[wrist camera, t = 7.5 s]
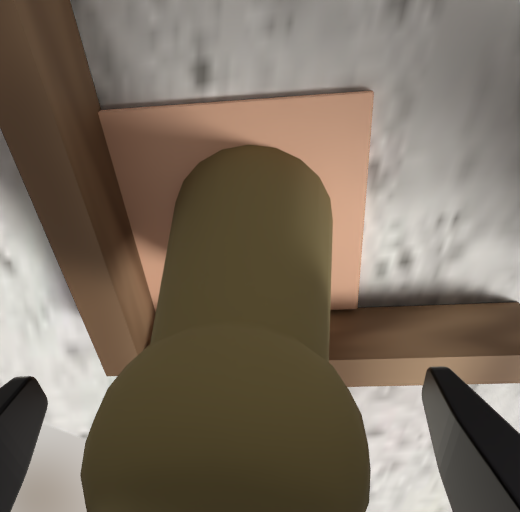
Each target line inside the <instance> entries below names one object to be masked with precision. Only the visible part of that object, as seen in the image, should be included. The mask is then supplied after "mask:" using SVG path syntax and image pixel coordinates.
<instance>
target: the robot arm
mask: <svg viewBox="0 0 520 512" xmlns="http://www.w3.org/2000/svg"><path fill="white" fill-rule="evenodd" d="M422 401H423V405H424V410H425V414H426V418H427V423H428V427H429V431H430V436H431V440H432V444H433V449H434V453H435V457H436V461H437V465H438V469H439V473H440V476H441V479H442V482H443V485H444V488H445V491H446V493H447V496H448V499H449V502H450V505H451V508H452V511H453V512H520V433H518V432H517V431H516V430H515V429H514V428H513V427H512V426H511V425H510V424H509V423H508V422H507V421H506V420H505V419H504V418H502V417H501V416H500V415H499V414H498V413H497V412H496V411H495V410H494V409H493V408H492V407H491V406H490V405H489V404H487V403H486V402H485V401H484V400H483V399H482V398H481V397H480V396H479V395H478V394H477V393H476V392H475V391H474V390H472V389H471V388H470V387H469V386H468V385H467V384H466V383H465V382H464V381H463V380H462V379H461V378H460V377H459V376H458V375H456V374H455V373H454V372H453V371H452V370H451V369H450V368H448V367H445V366H439V367H429V368H428V369H427V371H426V375H425V379H424V384H423V388H422ZM47 405H48V401H47V397H46V395H45V393H44V392H43V390H42V388H41V387H40V385H39V383H38V381H37V380H36V379H35V378H34V377H31V376H26V377H15V378H13V379H12V380H10V381H9V382H8V383H6V384H5V385H4V386H2V387H1V388H0V512H11V509H12V507H13V504H14V502H15V500H16V497H17V495H18V493H19V490H20V488H21V486H22V483H23V481H24V478H25V475H26V473H27V470H28V467H29V464H30V461H31V458H32V455H33V452H34V448H35V445H36V442H37V439H38V436H39V433H40V429H41V426H42V423H43V420H44V417H45V413H46V410H47Z"/></svg>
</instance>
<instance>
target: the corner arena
mask: <svg viewBox="0 0 520 512" xmlns="http://www.w3.org/2000/svg"><path fill="white" fill-rule="evenodd" d="M373 97H374V92H373V91H360V92H346V93H332V94H318V95H304V96H290V97H276V98H263V99H249V100H235V101H221V102H207V103H193V104H179V105H165V106H151V107H137V108H123V109H109V110H101V108H100V105H99V101H98V98H97V94H96V91H95V87H94V84H93V80H92V77H91V73H90V69H89V66H88V62H87V59H86V55H85V52H84V48H83V45H82V41H81V38H80V34H79V31H78V27H77V24H76V20H75V17H74V13H73V10H72V6H71V3H70V0H0V128H1V131H2V133H3V135H4V138H5V140H6V142H7V145H8V147H9V149H10V152H11V154H12V156H13V159H14V161H15V163H16V166H17V168H18V170H19V173H20V175H21V177H22V180H23V182H24V184H25V187H26V189H27V191H28V194H29V196H30V198H31V201H32V203H33V205H34V208H35V210H36V212H37V215H38V217H39V219H40V222H41V224H42V226H43V229H44V231H45V233H46V236H47V238H48V240H49V243H50V245H51V247H52V250H53V252H54V254H55V257H56V259H57V261H58V264H59V266H60V268H61V271H62V273H63V275H64V278H65V280H66V282H67V285H68V287H69V289H70V292H71V294H72V296H73V299H74V301H75V303H76V306H77V308H78V310H79V313H80V315H81V317H82V320H83V322H84V324H85V327H86V329H87V331H88V334H89V336H90V338H91V341H92V343H93V345H94V348H95V350H96V352H97V355H98V357H99V359H100V362H101V364H102V366H103V369H104V371H105V373H106V376H118V375H119V374H120V373H121V372H122V370H123V369H124V368H125V367H126V366H127V365H128V364H129V363H130V362H131V361H132V360H133V359H134V358H135V357H136V356H138V355H139V354H140V353H141V352H142V351H143V350H144V349H145V348H146V347H147V346H149V345H150V342H151V336H152V331H153V325H154V320H155V314H156V308H157V303H158V297H159V292H160V286H161V280H162V275H163V269H164V264H165V258H166V252H167V247H168V241H169V236H170V230H171V224H172V219H173V213H174V208H175V202H176V199H177V197H178V194H179V191H180V189H181V186H182V183H183V181H184V179H185V178H186V177H187V176H188V175H189V174H190V172H191V171H192V170H193V169H194V168H195V167H196V166H197V164H198V163H199V162H201V161H203V160H204V159H206V158H208V157H210V156H211V155H213V154H215V153H217V152H219V151H220V150H222V149H227V148H233V147H238V146H243V145H248V144H249V145H257V146H265V147H273V148H278V149H280V150H282V151H284V152H286V153H288V154H291V155H293V156H295V157H297V158H299V159H301V160H302V161H303V162H304V163H305V164H306V165H307V166H308V167H309V168H311V169H312V170H313V171H314V172H315V173H316V174H317V175H318V176H319V177H320V179H321V181H322V183H323V185H324V187H325V189H326V191H327V193H328V195H329V197H330V200H331V209H332V217H333V234H332V269H331V304H330V339H329V363H330V364H331V365H333V367H334V368H335V370H336V371H337V373H338V374H339V376H340V377H341V379H342V380H343V382H344V383H345V385H346V386H347V387H361V386H407V385H423V384H424V379H425V375H426V371H427V369H428V368H429V367H439V366H445V367H448V368H450V369H451V370H452V371H453V372H454V373H455V374H456V375H458V376H459V377H460V378H461V379H462V380H463V381H464V382H465V383H466V384H499V383H520V304H519V302H511V303H482V304H454V305H425V306H397V307H368V308H357V305H358V292H359V279H360V266H361V253H362V240H363V227H364V214H365V201H366V188H367V175H368V162H369V149H370V136H371V123H372V110H373Z"/></svg>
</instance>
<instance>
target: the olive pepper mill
mask: <svg viewBox="0 0 520 512" xmlns="http://www.w3.org/2000/svg"><path fill="white" fill-rule="evenodd" d="M332 234H333V217H332V209H331V200H330V197H329V195H328V193H327V191H326V189H325V187H324V185H323V183H322V181H321V179H320V177H319V176H318V175H317V174H316V173H315V172H314V171H313V170H312V169H311V168H309V167H308V166H307V165H306V164H305V163H304V162H303V161H302V160H301V159H299V158H297V157H295V156H293V155H291V154H288V153H286V152H284V151H282V150H280V149H278V148H273V147H265V146H257V145H249V144H248V145H243V146H238V147H233V148H227V149H222V150H220V151H219V152H217V153H215V154H213V155H211V156H210V157H208V158H206V159H204V160H203V161H201V162H199V163H198V164H197V166H196V167H195V168H194V169H193V170H192V171H191V172H190V174H189V175H188V176H187V177H186V178H185V179H184V181H183V183H182V186H181V189H180V191H179V194H178V197H177V199H176V202H175V208H174V213H173V219H172V224H171V230H170V236H169V241H168V247H167V252H166V258H165V264H164V269H163V275H162V280H161V286H160V292H159V297H158V303H157V308H156V314H155V320H154V325H153V331H152V336H151V342H150V345H149V346H147V347H146V348H145V349H144V350H143V351H142V352H141V353H140V354H139V355H138V356H136V357H135V358H134V359H133V360H132V361H131V362H130V363H129V364H128V365H127V366H126V367H125V368H124V369H123V370H122V372H121V373H120V374H119V375H118V377H117V378H116V379H115V380H114V382H113V383H112V384H111V385H110V387H109V388H108V389H107V392H106V394H105V396H104V398H103V401H102V403H101V405H100V407H99V410H98V412H97V414H96V416H95V419H94V421H93V424H92V427H91V429H90V432H89V435H88V437H87V440H86V443H85V449H84V456H83V462H82V469H81V481H82V487H83V492H84V498H85V504H86V509H87V512H365V511H366V509H367V506H368V504H369V491H370V471H371V470H370V460H369V449H368V442H367V438H366V433H365V429H364V424H363V420H362V415H361V413H360V411H359V409H358V407H357V405H356V403H355V401H354V399H353V397H352V395H351V393H350V391H349V389H348V388H347V386H346V385H345V383H344V382H343V380H342V379H341V377H340V376H339V374H338V373H337V371H336V370H335V368H334V367H333V365H331V364H330V363H329V339H330V304H331V269H332Z"/></svg>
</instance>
